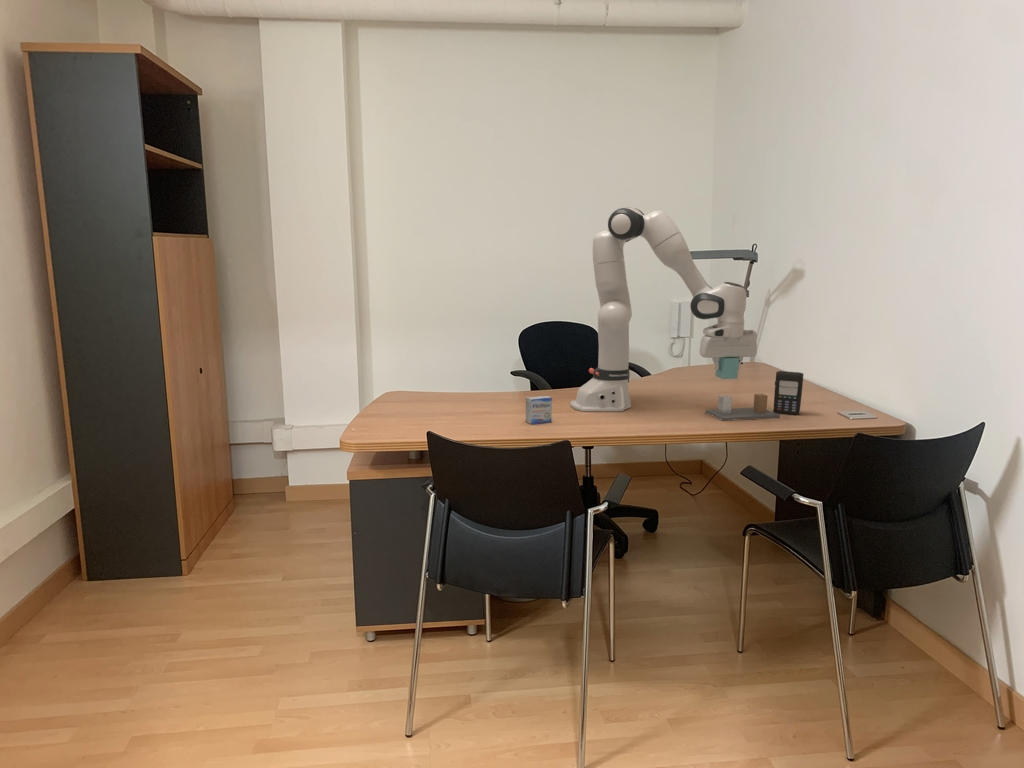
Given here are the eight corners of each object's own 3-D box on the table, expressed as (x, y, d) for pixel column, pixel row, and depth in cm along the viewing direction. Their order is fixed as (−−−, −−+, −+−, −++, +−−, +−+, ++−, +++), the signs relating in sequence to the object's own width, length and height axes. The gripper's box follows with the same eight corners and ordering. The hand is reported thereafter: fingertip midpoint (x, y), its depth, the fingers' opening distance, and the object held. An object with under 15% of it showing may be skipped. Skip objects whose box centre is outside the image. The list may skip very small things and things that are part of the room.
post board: (722, 420, 247) (723, 400, 245) (705, 412, 258) (706, 393, 256) (779, 417, 252) (781, 398, 250) (760, 409, 263) (761, 390, 262)
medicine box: (530, 424, 240) (531, 399, 238) (525, 421, 244) (525, 396, 242) (551, 422, 243) (552, 397, 242) (546, 419, 247) (546, 394, 246)
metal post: (722, 414, 251) (723, 397, 250) (717, 412, 254) (718, 395, 253) (730, 414, 252) (731, 397, 251) (725, 411, 255) (727, 395, 254)
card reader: (772, 413, 258) (775, 372, 255) (773, 410, 261) (776, 370, 258) (799, 415, 254) (803, 374, 251) (800, 413, 258) (803, 372, 255)
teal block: (723, 378, 247) (724, 358, 246) (715, 375, 252) (716, 355, 251) (737, 378, 248) (739, 358, 247) (729, 375, 253) (730, 355, 252)
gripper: (752, 328, 252) (748, 367, 255) (698, 329, 248) (695, 368, 250) (762, 331, 246) (758, 370, 249) (707, 331, 242) (704, 372, 244)
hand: (726, 369), depth 250 cm, fingers closed on teal block, 5 cm apart
